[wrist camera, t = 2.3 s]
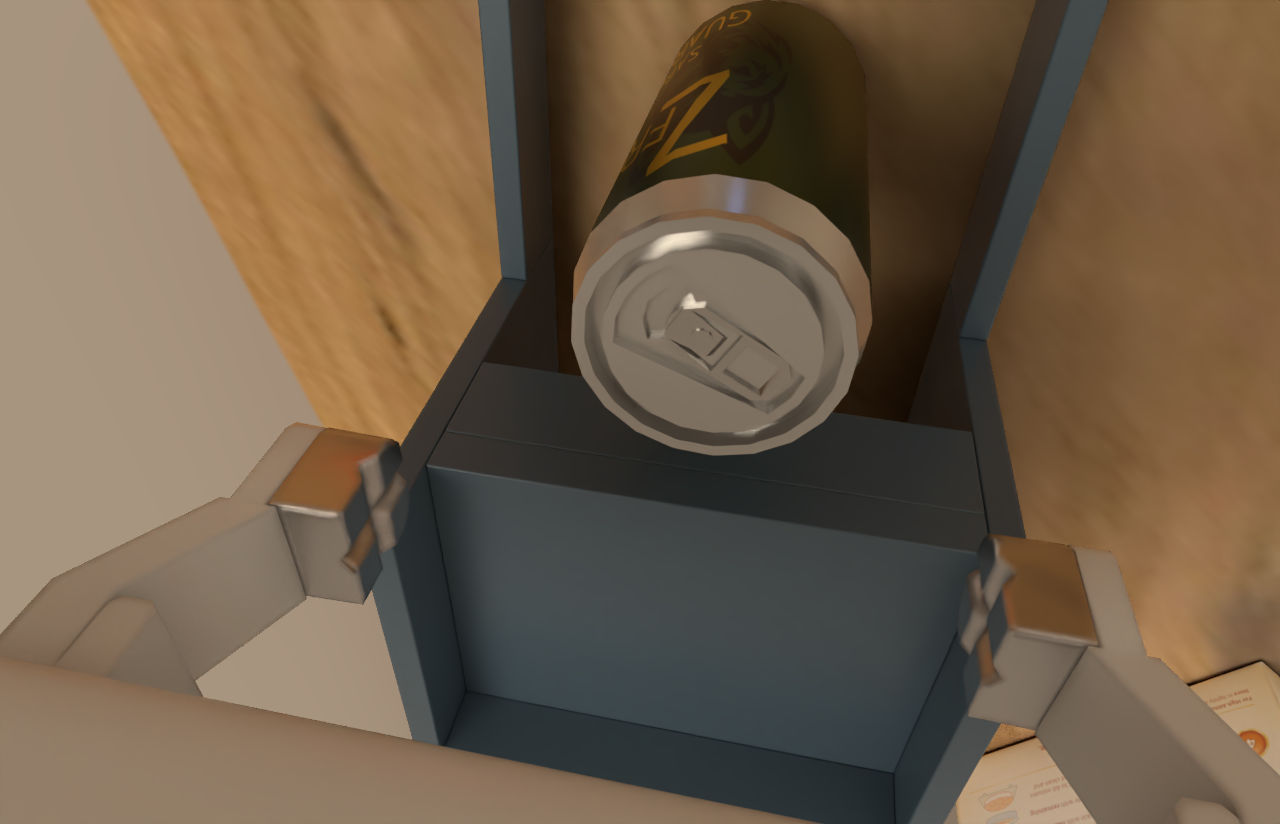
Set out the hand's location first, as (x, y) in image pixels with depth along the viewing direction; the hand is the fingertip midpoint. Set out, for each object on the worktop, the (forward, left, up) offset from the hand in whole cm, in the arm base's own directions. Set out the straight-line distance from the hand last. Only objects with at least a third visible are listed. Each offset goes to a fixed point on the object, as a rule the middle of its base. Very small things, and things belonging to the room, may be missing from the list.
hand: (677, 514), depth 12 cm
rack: (+5, 0, -16) cm, 16 cm away
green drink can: (0, 0, -16) cm, 16 cm away
